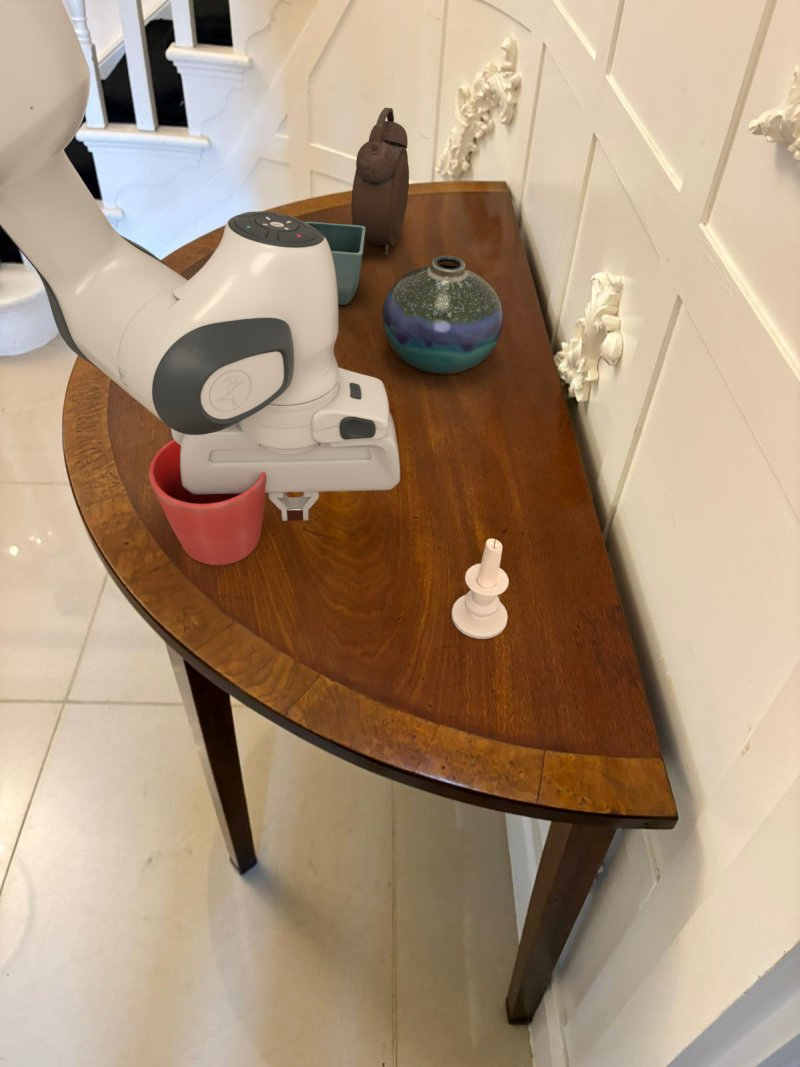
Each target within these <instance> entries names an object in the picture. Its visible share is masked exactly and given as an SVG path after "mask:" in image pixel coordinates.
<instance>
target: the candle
mask: <svg viewBox="0 0 800 1067" xmlns="http://www.w3.org/2000/svg"><path fill="white" fill-rule="evenodd" d="M502 553H503V544H502V543H501V541H499V540H498V539H495V538H488V539H487V540H486V541H485V545H484V550H483V553H482V557H481V562H480V563H476V564H474V565H471V566H470V567H469V568H468V569H467V571H466V572H465V576H464V579H465V584H466V586H467V587H468V588H469V590H468V592H467V593H466V594H464V595H462V596H460V597H458V599H456V600H455V601H454V603H453V604H452V609H451V620H452V623H453V625H454V626H455V627H456V629H457V630H458V631H460V633H462V634H463V635H465V636H467V637H469V638H473V639H477V640H487V639H492V638H495V637H497V636H499V635H500V634H501V633H502V632H503V631H504V630H505V628H506V627H507V624H508V619H509V618H508V612H507V609H506V607H505V606H504V604H503V603H502V602H501V601H500V600H501V599H500V597H499V595H502V594H503V593H505V592H506V590H507V589H508V587H509V583H510V582H509V581H510V580H509V577H508V573H506V572H505V570H503V569H502V568H501V567H500V566H501V560H502Z"/></svg>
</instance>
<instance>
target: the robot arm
mask: <svg viewBox="0 0 800 1067" xmlns="http://www.w3.org/2000/svg"><path fill="white" fill-rule="evenodd" d="M79 40H80V39H79V37H78V35H77V33H76V30H75V28H74V25H73V22H72V20H71V18H70V16H69V14H68V11H67V9H66V6H65V5H64V2H63V0H0V228H1V230H2V231H3V232H4V233H5V234H6V235H7V237H8V238H9V239H10V240H11V241H12V243H13V244H14V245H15V247H16V248H17V249H18V250H19V252H20V253H21V254H22V255H23V256H24V257H25V259H26V260H27V261H28V262H29V264H30V265H31V266H32V267H33V269H34V270H35V272H36V274H38V276H39V278H40V280H41V283H42V285H43V288H44V290H45V292H46V296H47V299H48V303H49V307H50V309H51V314H52V317H53V320H54V323H55V326H56V328H57V330H58V332H59V334H60V336H61V338H62V340H63V342H64V343H65V345H67V347H68V348H69V349H70V350H71V351H72V352H73V353H74V354H76V355H77V356H78V357H80V358H81V359H83V360H84V361H85V362H87V363H89V364H90V365H92V366H93V367H94V368H96V369H98V370H100V371H101V372H102V373H103V374H104V375H106V376H107V377H108V378H109V380H112V381H113V382H114V383H115V384H116V385H118V387H120V389H122V390H123V391H124V392H126V393H127V394H128V395H129V396H130V397H131V398H133V399H134V400H135V401H137V402H138V403H139V404H140V405H141V406H142V407H144V408H145V409H146V410H147V411H148V412H150V413H151V414H152V415H153V416H155V417H156V418H157V419H159V420H160V421H161V422H162V423H164V425H166V426H167V427H168V428H170V433H171V436H172V438H173V439H174V440H175V441H176V442H177V443H178V444H179V445H181V452H180V470H181V480H182V485H183V487H184V488H185V489H187V490H188V491H189V492H190V493H192V494H237V493H244V492H245V491H247V490H248V489H249V488H250V487H252V486H253V485H254V484H255V483H256V482H257V480H258V479H259V478H260V476H261V474H262V473H263V472H265V473H266V485H265V493H266V494H268V500H270V502H272V503H273V505H274V506H275V507H276V508H278V510H280V511H281V520H282V522H296V521H300V522H301V521H309V518H310V517H309V510H310V509H311V508H312V506H314V504H315V503H316V502H317V500H318V499H319V498H320V493H321V492H322V493H323V492H354V491H355V492H359V491H361V492H362V491H391V490H393V489H394V488H395V487H397V485H399V483H400V481H401V464H400V453H399V452H400V451H399V444H398V439H397V438H398V437H397V433H396V426H395V422H394V418H393V416H392V414H391V411H390V405H389V399H388V394H387V390H386V387H385V384H384V382H383V381H382V380H381V379H379V378H377V377H375V376H371V375H366V374H363V373H359V372H355V371H352V370H348V369H345V368H342V367H340V366H339V365H338V361H337V359H336V356H335V344H336V341H337V339H338V333H339V304H338V292H337V281H336V272H335V266H334V260H333V256H332V252H331V249H330V246H329V244H328V242H327V239H326V238H325V236H323V235H322V234H321V233H320V231H318V230H317V229H315V228H314V227H312V226H310V225H309V224H307V223H305V222H306V221H303V220H301V219H299V218H296V217H294V216H291V215H289V214H283V213H278V212H275V211H264V210H263V211H262V210H261V211H260V210H257V211H255V210H253V211H246V212H243V213H240V214H237V215H234V216H232V217H231V218H229V219H228V220H227V221H226V224H225V226H224V229H223V235H222V238H221V241H220V242H219V244H218V246H217V247H216V249H215V250H214V252H213V253H212V255H211V256H210V257H209V259H208V260H207V261H206V262H205V264H204V265H203V266H201V268H200V269H199V270H198V271H197V272H196V273H195V274H194V275H193V276H192V277H191V278H189V279H186V278H185V277H184V276H183V275H181V274H180V273H178V272H176V271H175V270H174V269H172V268H170V267H169V266H168V264H166V263H165V262H164V261H162V260H161V259H160V258H158V257H157V256H156V255H155V254H154V253H152V252H151V251H150V250H148V249H147V248H145V247H144V246H142V245H141V244H139V243H137V242H136V241H133V240H131V239H129V238H127V237H125V236H123V235H121V234H120V233H119V232H117V231H116V229H115V228H114V227H113V225H112V224H111V223H110V221H109V219H108V218H107V216H106V215H105V213H104V212H103V210H102V208H101V207H100V205H99V204H98V202H97V201H96V199H95V197H94V196H93V194H92V193H91V192H90V190H89V188H88V186H87V185H86V184H85V182H84V181H83V179H82V177H81V176H80V174H79V172H78V171H77V170H76V168H75V166H74V165H73V163H72V162H71V160H70V159H69V157H68V155H67V154H66V152H65V149H66V148H67V147H68V145H69V144H70V143H71V142H72V140H73V139H74V138H75V136H76V135H77V133H78V131H79V130H80V127H81V125H82V123H83V120H84V117H85V115H86V112H87V108H88V103H89V98H90V90H91V69H90V67H89V64H88V61H87V59H86V55H85V53H84V51H83V48H82V45H81V42H80V41H79ZM287 493H303V494H302V495H301V496H297V497H294V496H293V497H291V496H290V497H289V496H288V495H287Z"/></svg>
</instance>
